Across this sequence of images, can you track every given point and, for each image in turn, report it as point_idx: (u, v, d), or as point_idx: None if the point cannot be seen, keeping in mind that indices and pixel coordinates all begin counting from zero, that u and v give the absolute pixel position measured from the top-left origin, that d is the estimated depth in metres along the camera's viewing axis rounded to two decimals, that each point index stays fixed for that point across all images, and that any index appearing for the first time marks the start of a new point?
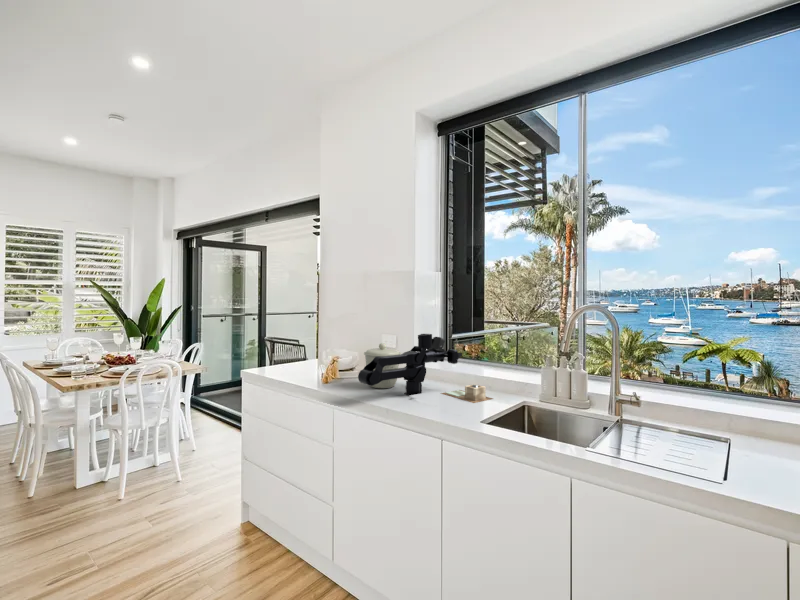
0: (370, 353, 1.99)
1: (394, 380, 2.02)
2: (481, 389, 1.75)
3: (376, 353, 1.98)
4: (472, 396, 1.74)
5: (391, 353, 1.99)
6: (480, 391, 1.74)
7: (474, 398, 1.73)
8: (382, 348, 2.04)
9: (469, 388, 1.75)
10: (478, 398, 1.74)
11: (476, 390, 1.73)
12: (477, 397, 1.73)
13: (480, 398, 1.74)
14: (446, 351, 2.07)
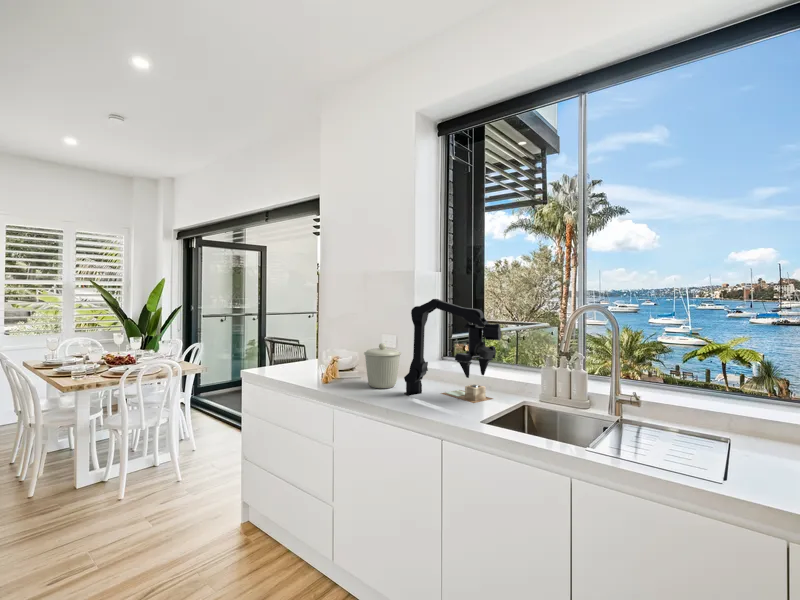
0: (370, 353, 1.99)
1: (394, 380, 2.02)
2: (481, 389, 1.75)
3: (376, 353, 1.98)
4: (472, 396, 1.74)
5: (391, 353, 1.99)
6: (480, 391, 1.74)
7: (474, 398, 1.73)
8: (382, 348, 2.04)
9: (469, 388, 1.75)
10: (478, 398, 1.74)
11: (476, 390, 1.73)
12: (477, 397, 1.73)
13: (480, 398, 1.74)
14: (483, 372, 1.79)
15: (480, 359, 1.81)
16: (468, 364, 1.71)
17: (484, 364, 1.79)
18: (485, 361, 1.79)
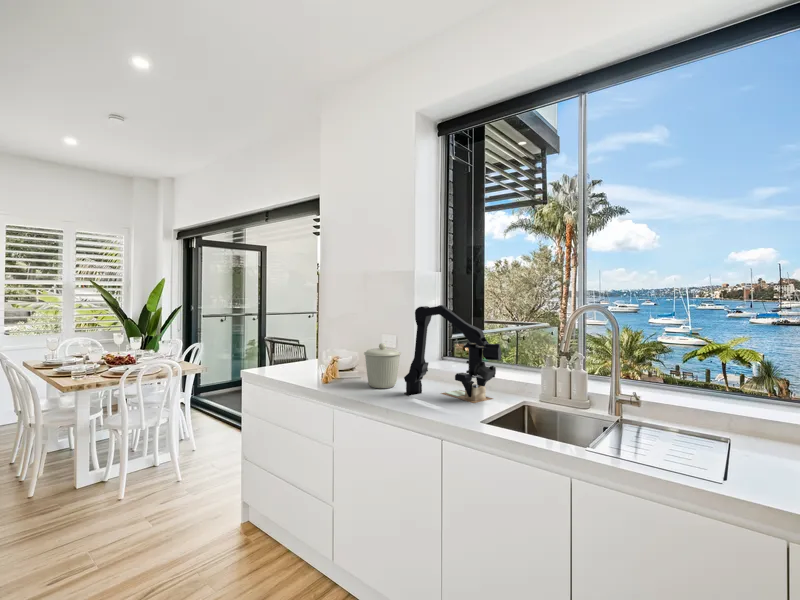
0: (370, 353, 1.99)
1: (394, 380, 2.02)
2: (481, 389, 1.75)
3: (376, 353, 1.98)
4: (472, 396, 1.74)
5: (391, 353, 1.99)
6: (480, 391, 1.74)
7: (474, 398, 1.73)
8: (382, 348, 2.04)
9: None
10: (478, 398, 1.74)
11: (476, 390, 1.73)
12: (477, 397, 1.73)
13: (480, 398, 1.74)
14: None
15: (478, 378, 1.80)
16: (470, 384, 1.72)
17: (482, 384, 1.78)
18: (483, 381, 1.78)
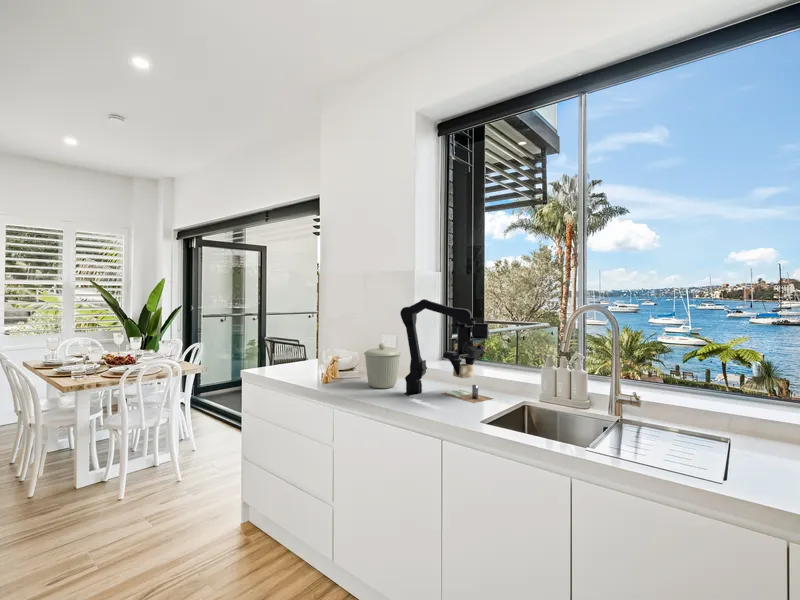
0: (370, 353, 1.99)
1: (394, 380, 2.02)
2: (469, 367, 1.80)
3: (376, 353, 1.98)
4: (460, 374, 1.79)
5: (391, 353, 1.99)
6: (468, 369, 1.79)
7: (462, 376, 1.78)
8: (382, 348, 2.04)
9: None
10: (466, 376, 1.79)
11: (464, 368, 1.78)
12: (465, 375, 1.78)
13: (468, 376, 1.80)
14: None
15: (466, 358, 1.85)
16: (458, 362, 1.77)
17: (470, 363, 1.83)
18: (471, 360, 1.83)
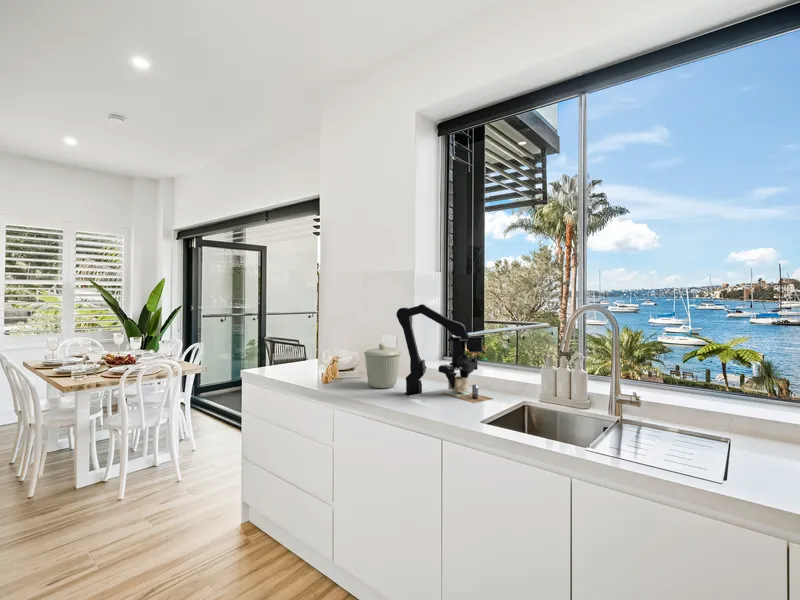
0: (370, 353, 1.99)
1: (394, 380, 2.02)
2: (464, 380, 1.83)
3: (376, 353, 1.98)
4: (455, 387, 1.82)
5: (391, 353, 1.99)
6: (463, 382, 1.82)
7: (457, 389, 1.81)
8: (382, 348, 2.04)
9: None
10: (461, 389, 1.82)
11: (459, 381, 1.81)
12: (460, 388, 1.81)
13: (463, 389, 1.82)
14: None
15: (461, 371, 1.88)
16: (453, 375, 1.80)
17: (464, 376, 1.86)
18: (465, 373, 1.86)
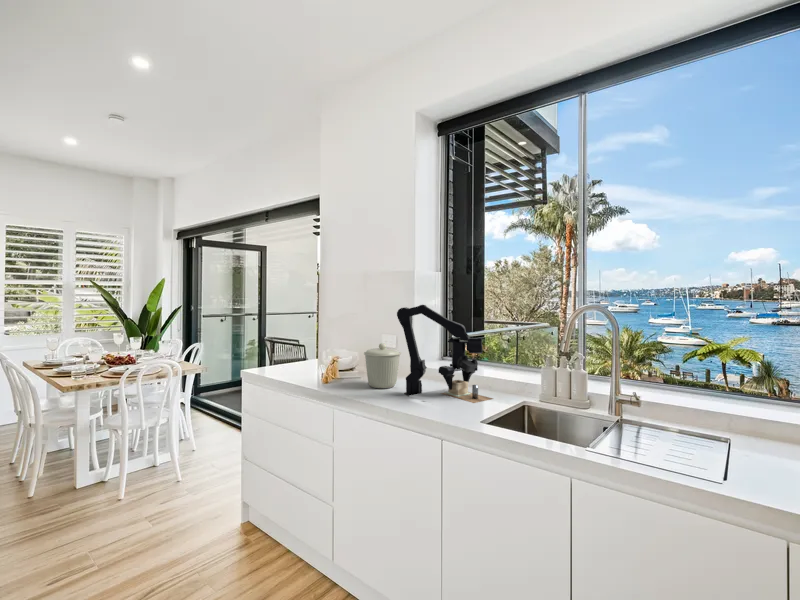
0: (370, 353, 1.99)
1: (394, 380, 2.02)
2: (464, 384, 1.83)
3: (376, 353, 1.98)
4: (455, 391, 1.82)
5: (391, 353, 1.99)
6: (463, 386, 1.82)
7: (457, 393, 1.81)
8: (382, 348, 2.04)
9: (452, 383, 1.83)
10: (461, 393, 1.82)
11: (459, 385, 1.81)
12: (460, 392, 1.81)
13: (463, 393, 1.82)
14: None
15: (463, 371, 1.89)
16: (451, 377, 1.79)
17: (467, 376, 1.87)
18: (468, 373, 1.87)
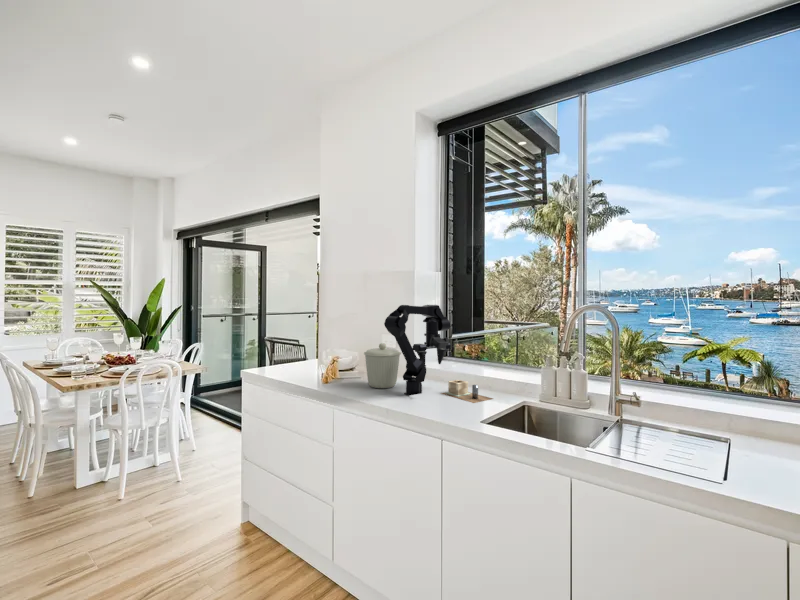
0: (370, 353, 1.99)
1: (394, 380, 2.02)
2: (464, 384, 1.83)
3: (376, 353, 1.98)
4: (455, 391, 1.82)
5: (391, 353, 1.99)
6: (463, 386, 1.82)
7: (457, 393, 1.81)
8: (382, 348, 2.04)
9: (452, 383, 1.83)
10: (461, 393, 1.82)
11: (459, 385, 1.81)
12: (460, 392, 1.81)
13: (463, 393, 1.82)
14: (439, 361, 2.00)
15: (438, 350, 2.02)
16: (423, 353, 1.92)
17: (441, 354, 2.00)
18: (441, 351, 1.99)
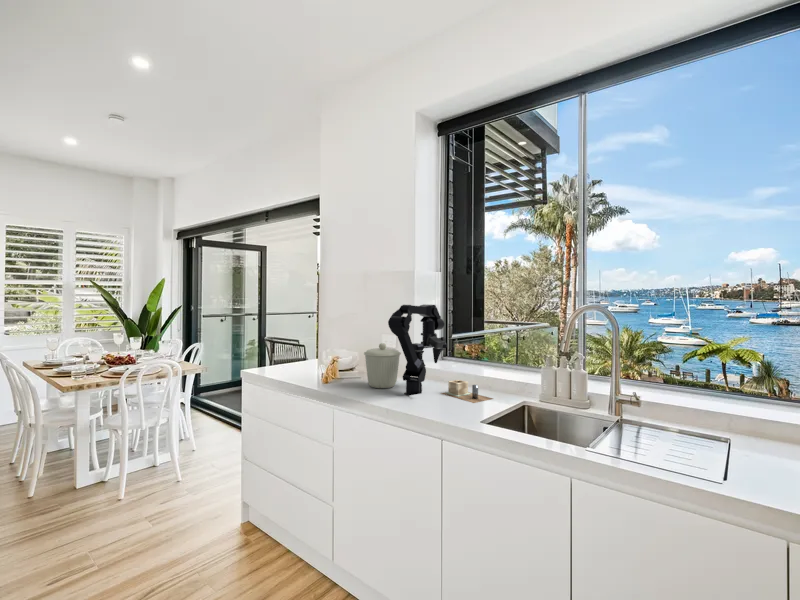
0: (370, 353, 1.99)
1: (394, 380, 2.02)
2: (464, 384, 1.83)
3: (376, 353, 1.98)
4: (455, 391, 1.82)
5: (391, 353, 1.99)
6: (463, 386, 1.82)
7: (457, 393, 1.81)
8: (382, 348, 2.04)
9: (452, 383, 1.83)
10: (461, 393, 1.82)
11: (459, 385, 1.81)
12: (460, 392, 1.81)
13: (463, 393, 1.82)
14: (436, 360, 2.01)
15: (434, 349, 2.04)
16: (421, 353, 1.94)
17: (437, 353, 2.01)
18: (437, 351, 2.01)
